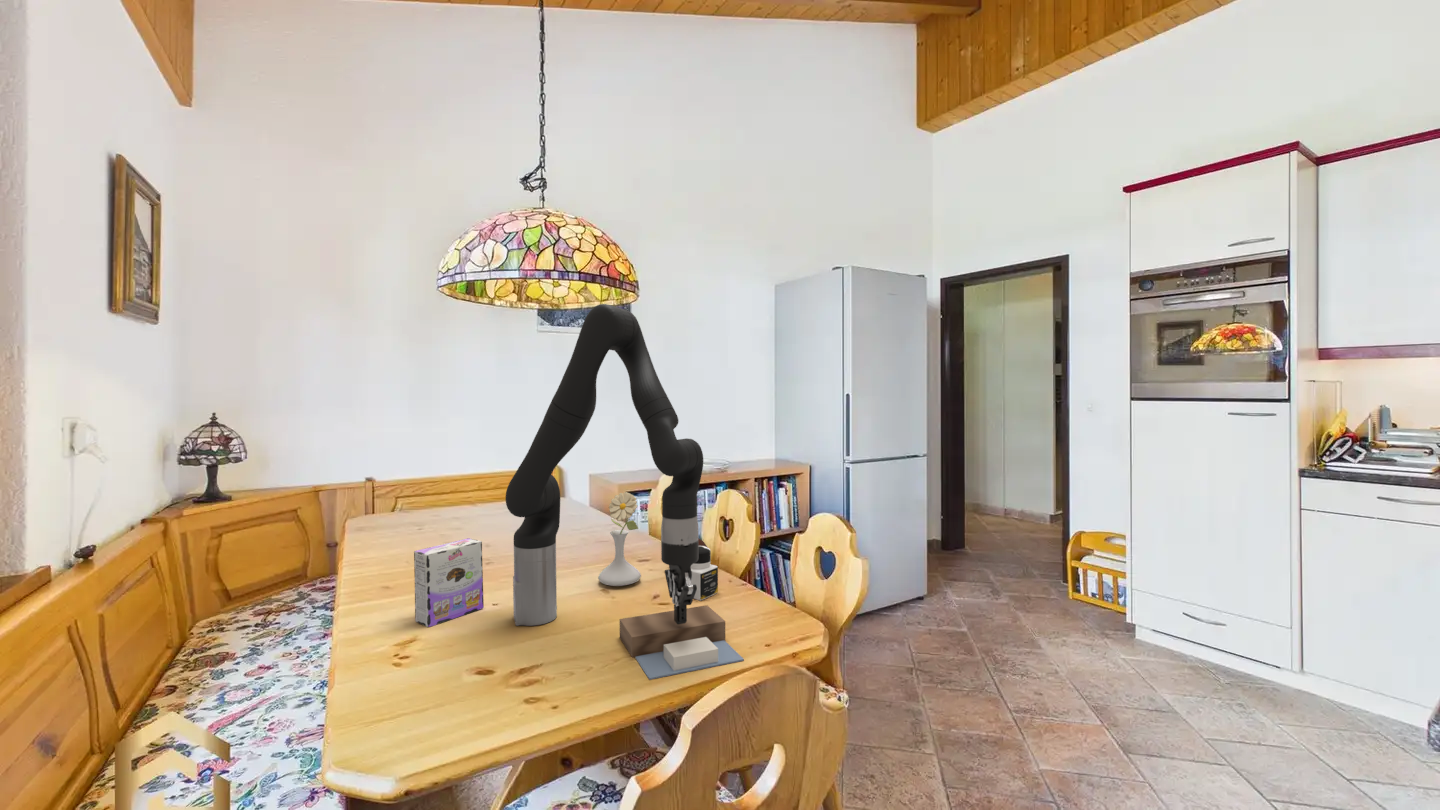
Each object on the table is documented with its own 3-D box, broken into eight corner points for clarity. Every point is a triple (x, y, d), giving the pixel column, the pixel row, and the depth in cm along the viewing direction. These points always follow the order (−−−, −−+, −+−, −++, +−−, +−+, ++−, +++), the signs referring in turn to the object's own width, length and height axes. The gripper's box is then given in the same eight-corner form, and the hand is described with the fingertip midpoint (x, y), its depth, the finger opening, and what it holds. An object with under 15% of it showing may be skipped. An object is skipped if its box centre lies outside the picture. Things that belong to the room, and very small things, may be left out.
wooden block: (632, 657, 118) (632, 637, 118) (619, 637, 128) (619, 619, 127) (725, 640, 126) (725, 621, 126) (707, 622, 135) (707, 605, 135)
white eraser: (663, 644, 118) (663, 657, 118) (673, 657, 112) (673, 670, 112) (706, 636, 121) (706, 649, 121) (718, 648, 116) (718, 661, 116)
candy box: (470, 603, 147) (469, 537, 147) (484, 609, 144) (483, 540, 143) (414, 622, 136) (412, 549, 136) (428, 628, 133) (426, 553, 132)
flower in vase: (589, 583, 163) (588, 490, 162) (623, 573, 171) (622, 485, 170) (619, 594, 154) (619, 497, 153) (653, 583, 162) (653, 491, 161)
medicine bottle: (700, 601, 149) (700, 553, 149) (679, 595, 153) (678, 548, 153) (718, 593, 155) (718, 546, 154) (696, 587, 159) (696, 542, 159)
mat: (649, 679, 109) (649, 678, 109) (635, 657, 118) (635, 656, 118) (743, 660, 117) (743, 659, 117) (724, 641, 126) (724, 640, 126)
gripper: (652, 532, 127) (652, 614, 127) (673, 548, 115) (673, 638, 115) (685, 529, 130) (686, 608, 130) (709, 543, 118) (710, 631, 118)
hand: (680, 622), depth 123 cm, fingers closed
